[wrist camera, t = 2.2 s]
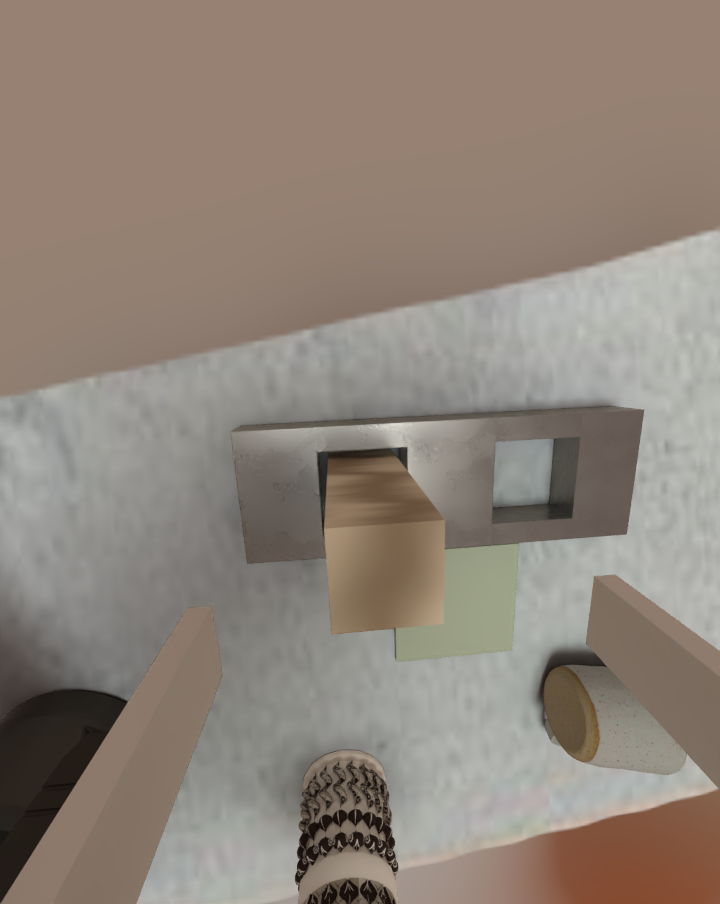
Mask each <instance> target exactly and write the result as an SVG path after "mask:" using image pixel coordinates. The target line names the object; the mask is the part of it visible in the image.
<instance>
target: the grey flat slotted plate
mask: <svg viewBox="0 0 720 904" xmlns="http://www.w3.org/2000/svg"><path fill="white" fill-rule="evenodd" d="M643 415H644V410H642V409H633V408H625V407H616V406H605V407H586V408H567V409H548V410H529V411H510V412H491V413H472V414H453V415H434V416H415V417H396V418H377V419H358V420H339V421H320V422H301V423H282V424H263V425H244V426H240V427H238V428H237V429H235V430H233V431H231V432H230V433H231V441H232V449H233V456H234V464H235V472H236V480H237V488H238V495H239V503H240V511H241V519H242V527H243V534H244V542H245V550H246V558H247V564H252V563H264V562H277V561H290V560H303V559H316V558H326V549H325V535H324V521H325V520H324V516H323V502H322V488H321V474H320V460H319V452H326V451H343V450H360V449H378V448H395V447H400V462H401V463H402V464H403V466H404V467H405V468H406V469H407V471H408V472H409V473H410V475H411V476H412V477H413V479H414V480H415V481H416V483H417V484H418V485H419V487H420V488H421V489H422V490H423V492H424V493H425V494H426V496H427V497H428V498H429V500H430V501H431V502H432V504H433V505H434V506H435V507H436V509H437V510H438V511H439V513H440V514H441V515H442V517H443V518H444V519H445V548H457V547H470V546H483V545H496V544H508V543H521V542H534V541H547V540H560V539H573V538H585V537H598V536H611V535H624V534H627V529H628V522H629V515H630V507H631V500H632V493H633V486H634V479H635V472H636V465H637V458H638V450H639V443H640V436H641V429H642V422H643ZM549 438H555V440H554V452H553V464H552V476H551V487H550V499H549V504H545V505H530V506H516V507H502V508H492V506H493V484H494V462H495V442H498V441H515V440H532V439H549Z"/></svg>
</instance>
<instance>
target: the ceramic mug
mask: <svg viewBox="0 0 720 904" xmlns="http://www.w3.org/2000/svg"><path fill="white" fill-rule="evenodd" d="M544 706H545V711H546V716H547V720H546V722H545V726H546V730H547V733H548V736H549V738H550V740H551V742H552V743H553V744H555V745H558V746H562V747H563V749H564V750H565V751H566V752H567V753H568V754H569V755H570V756H571V757H573V758H574V759H577V760H579V761H581V762H584V763H587V764H591V765H595V766H598V767H606V768H616V769H625V770H632V771H639V772H646V773H654V774H662V775H669V774H674V773H676V772H678V771H679V770H680V769H681V768H682V766H683V765H684V763H685V761H686V756H687V753H686V752H685V751H684V750H683V749H682V748H681V747H680V746H679V744H678V743H677V742H676V741H675V740H674V739H673V738H672V737H671V736H670V735H669V734H668V732H667V731H666V730H665V729H664V728H663V727H662V726H661V725H660V724H659V723H658V721H657V720H656V719H655V718H654V717H653V716H652V715H651V714H650V713H649V712H648V711H647V709H646V708H645V707H644V706H643V705H642V704H641V703H640V702H639V701H638V700H637V699H636V697H635V696H634V695H633V694H632V693H631V692H630V691H629V690H628V689H627V688H626V686H625V685H624V684H623V683H622V682H621V681H620V680H619V679H618V678H617V677H616V676H615V674H614V673H613V672H612V671H611V670H610V669H609V668H608V667H604V666H584V665H564V666H558V667H555V668H554V669H553V670H551V671H550V673H549V674H548V676H547V678H546V681H545V685H544Z"/></svg>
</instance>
